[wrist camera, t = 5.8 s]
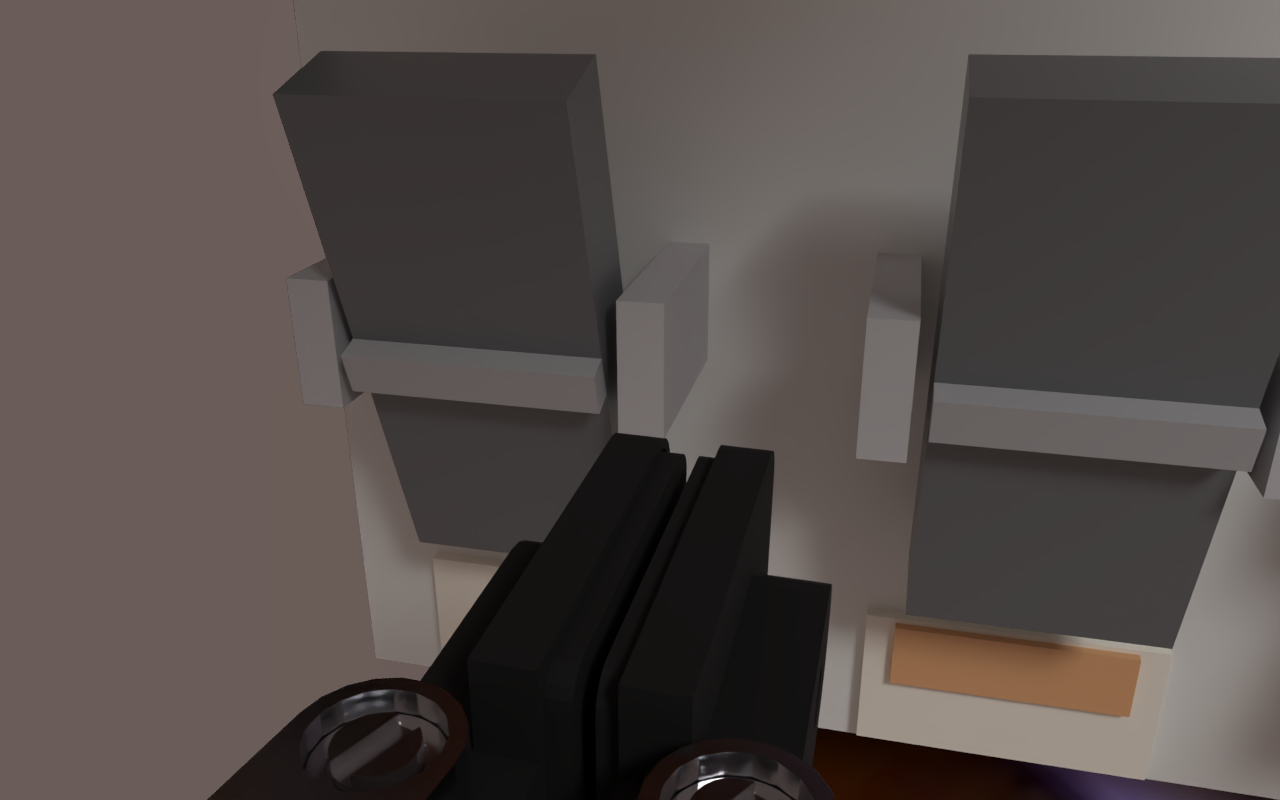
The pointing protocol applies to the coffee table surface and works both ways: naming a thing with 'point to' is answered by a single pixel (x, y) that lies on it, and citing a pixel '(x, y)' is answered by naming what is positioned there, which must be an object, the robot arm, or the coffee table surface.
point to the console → (831, 351)
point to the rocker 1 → (469, 272)
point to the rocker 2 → (1097, 339)
